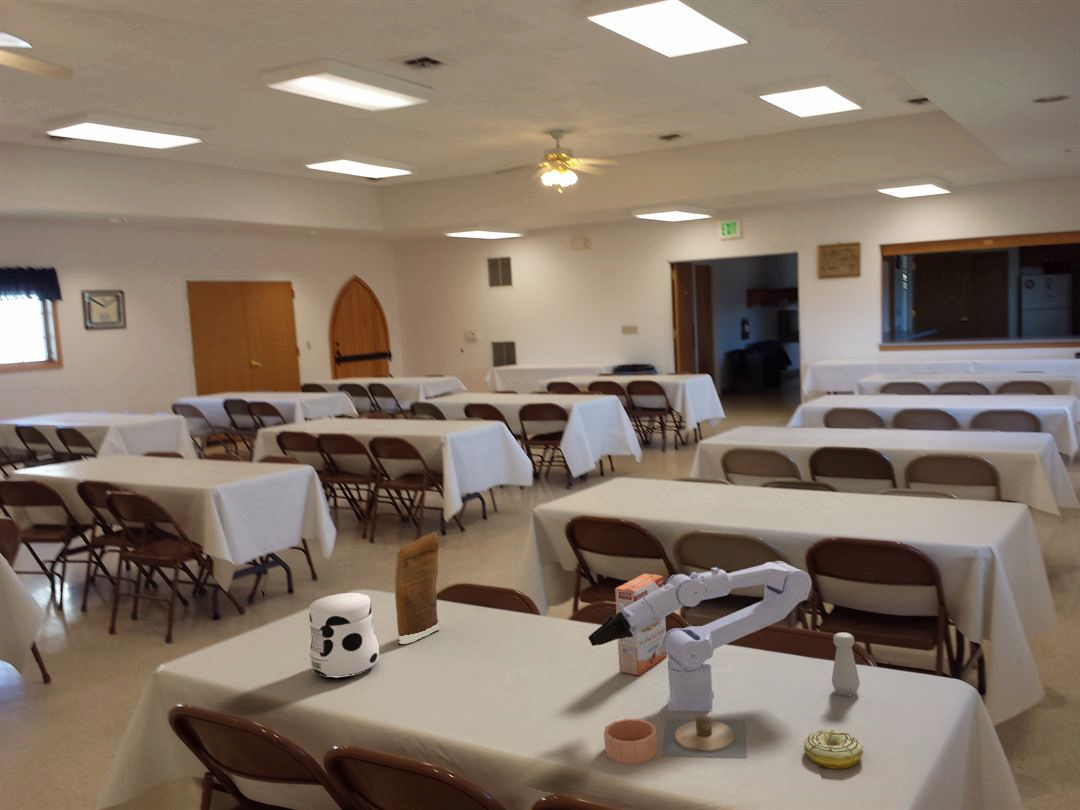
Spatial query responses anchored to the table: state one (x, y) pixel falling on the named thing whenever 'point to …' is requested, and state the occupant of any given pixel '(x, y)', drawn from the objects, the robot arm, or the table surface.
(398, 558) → the pancake mix bag
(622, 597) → the cracker box
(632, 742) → the bowl
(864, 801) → the table surface
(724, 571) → the robot arm
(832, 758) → the decorated donut
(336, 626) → the milk container
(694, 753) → the mat
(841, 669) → the salt shaker
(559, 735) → the table surface
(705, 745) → the lid
